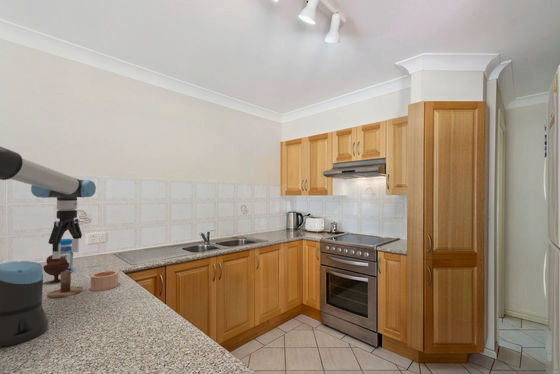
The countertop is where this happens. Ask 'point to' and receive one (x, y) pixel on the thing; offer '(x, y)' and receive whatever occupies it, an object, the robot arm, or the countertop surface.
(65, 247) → the beverage bottle
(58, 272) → the brown tree figurine
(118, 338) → the countertop surface
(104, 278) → the bowl
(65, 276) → the lid
